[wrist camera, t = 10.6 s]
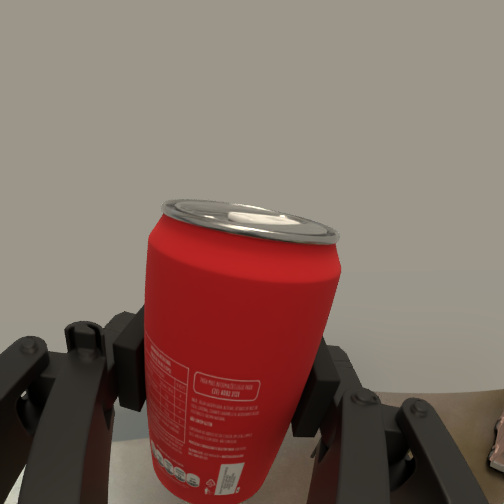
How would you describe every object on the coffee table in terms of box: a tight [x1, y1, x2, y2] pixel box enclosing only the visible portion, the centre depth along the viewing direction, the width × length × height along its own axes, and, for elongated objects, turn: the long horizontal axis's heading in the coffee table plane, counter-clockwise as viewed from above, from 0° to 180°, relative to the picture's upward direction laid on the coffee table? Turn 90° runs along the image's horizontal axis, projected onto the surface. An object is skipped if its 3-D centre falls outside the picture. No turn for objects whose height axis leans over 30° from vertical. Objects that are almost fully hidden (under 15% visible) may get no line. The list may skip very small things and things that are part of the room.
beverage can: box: [144, 199, 341, 504], centre depth 9 cm, size 5×5×12 cm
